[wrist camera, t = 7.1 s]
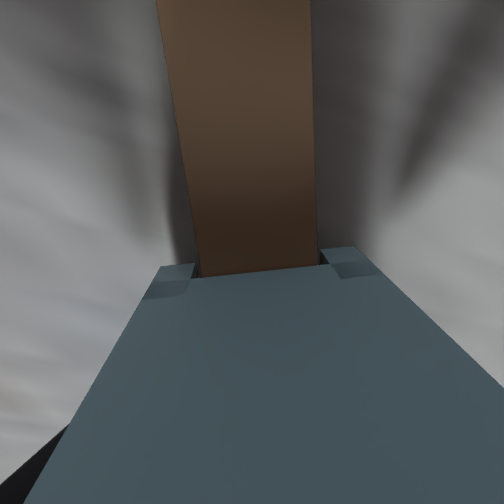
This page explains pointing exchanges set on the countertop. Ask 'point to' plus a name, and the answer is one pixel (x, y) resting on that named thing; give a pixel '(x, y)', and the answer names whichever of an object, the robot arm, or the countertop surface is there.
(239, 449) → the block
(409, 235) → the countertop surface
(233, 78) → the rail
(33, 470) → the robot arm
